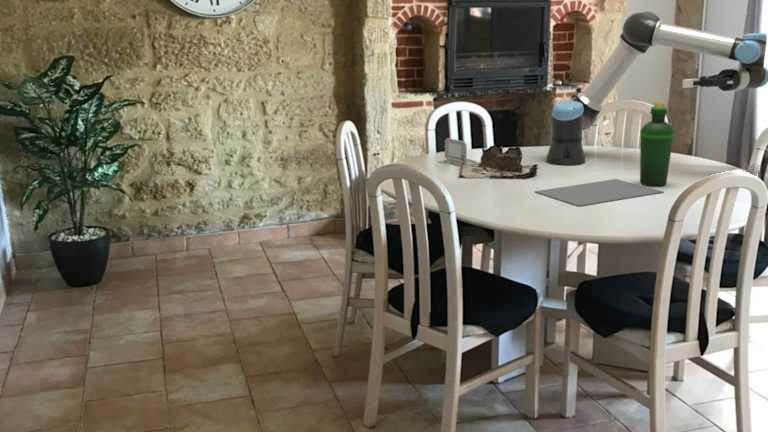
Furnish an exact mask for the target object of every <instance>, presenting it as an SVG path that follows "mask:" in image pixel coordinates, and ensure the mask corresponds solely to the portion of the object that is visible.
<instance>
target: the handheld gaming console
mask: <svg viewBox="0 0 768 432" xmlns="http://www.w3.org/2000/svg"><path fill="white" fill-rule="evenodd" d="M467 156H468V155H467V143H466V141H463V140H459V139H455V138H454V139H453V138H450V137H447V138H445V141H444V158H445V159H444V160H443V162H444V163H447V164H450V165H455V166H458V167H461V163H462V162H464V163H465V164H466V165H468V166H478V165H479V164H480V163H481V161H477V160H474V159H472V158H471V159H470V158H467Z"/></svg>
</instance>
